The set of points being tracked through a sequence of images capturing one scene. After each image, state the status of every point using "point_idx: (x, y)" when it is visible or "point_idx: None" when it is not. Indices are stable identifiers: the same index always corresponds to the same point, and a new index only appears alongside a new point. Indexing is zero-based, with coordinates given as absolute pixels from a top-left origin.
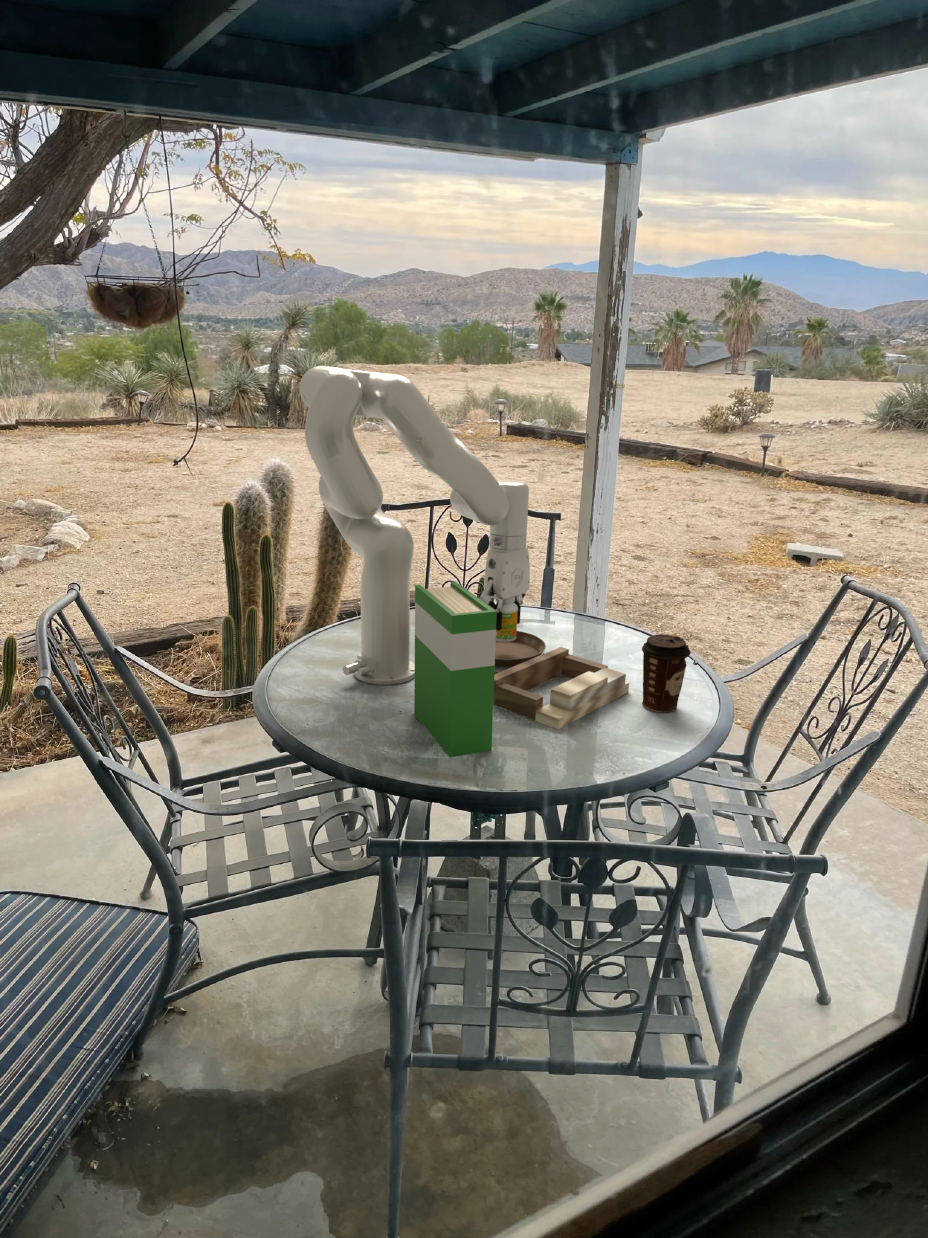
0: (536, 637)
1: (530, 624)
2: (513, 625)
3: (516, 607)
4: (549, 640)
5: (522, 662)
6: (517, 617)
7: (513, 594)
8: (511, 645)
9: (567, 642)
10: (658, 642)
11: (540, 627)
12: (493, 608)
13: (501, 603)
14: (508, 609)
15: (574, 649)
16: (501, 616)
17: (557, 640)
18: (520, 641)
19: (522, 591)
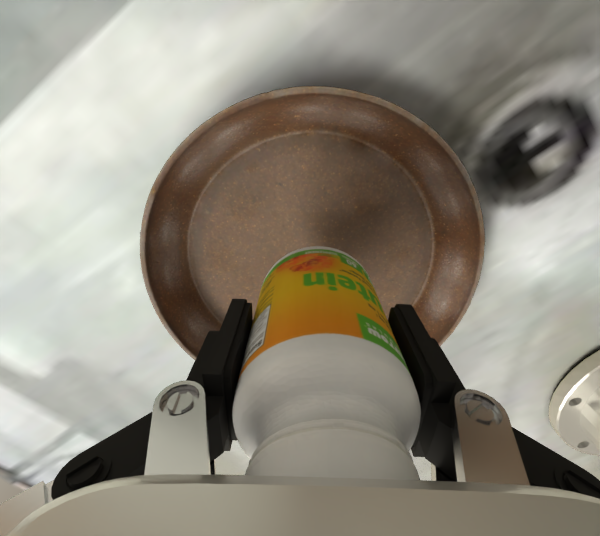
0: (147, 232)
1: (24, 357)
2: (332, 281)
3: (299, 363)
4: (61, 230)
5: (387, 125)
6: (246, 323)
7: (423, 520)
8: (230, 287)
9: (4, 163)
10: None
11: (8, 323)
12: (521, 439)
13: (469, 455)
14: (390, 375)
15: (28, 83)
16: (430, 356)
17: (30, 208)
18: (186, 282)
19: (199, 517)
